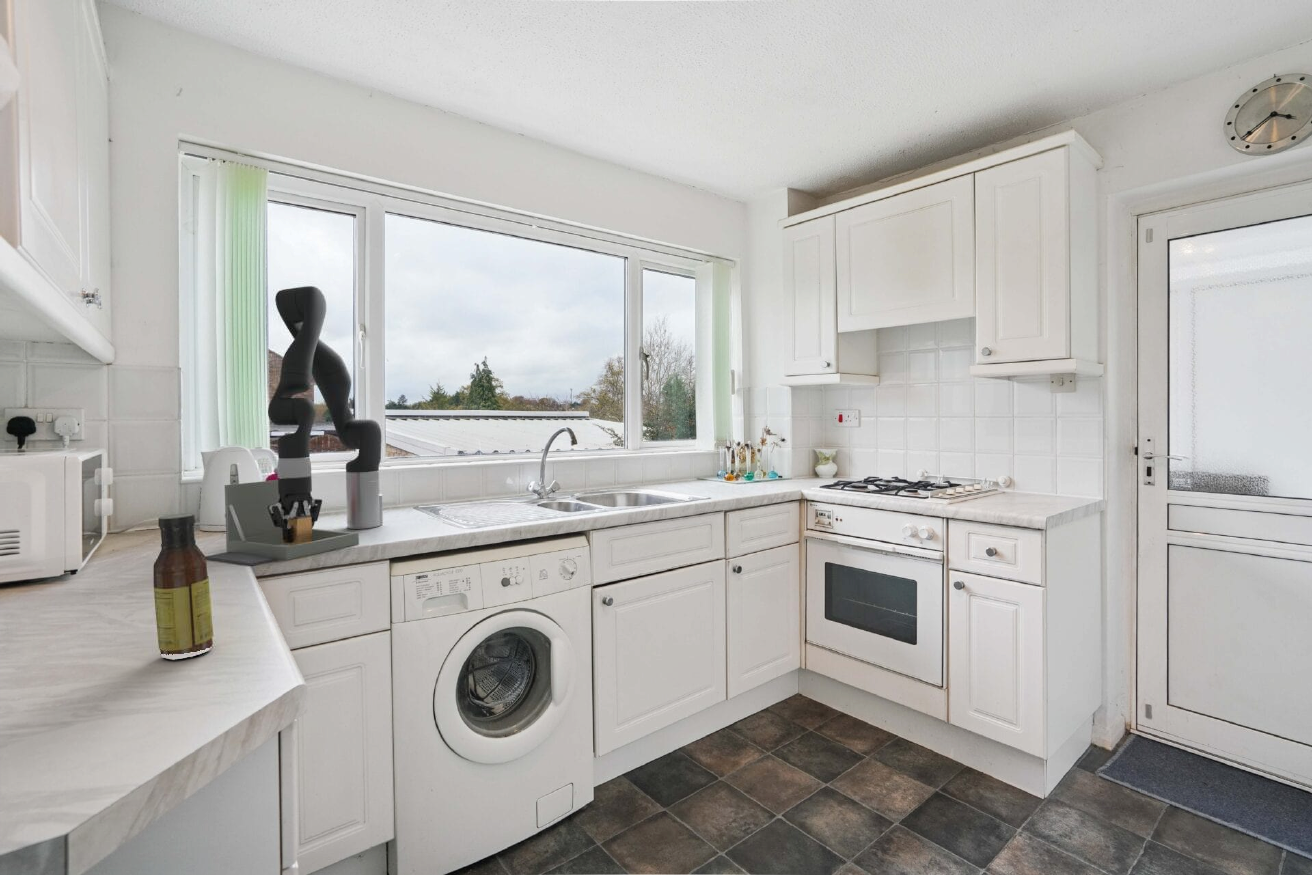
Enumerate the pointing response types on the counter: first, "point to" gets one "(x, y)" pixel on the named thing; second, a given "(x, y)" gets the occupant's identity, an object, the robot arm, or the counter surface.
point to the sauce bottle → (181, 589)
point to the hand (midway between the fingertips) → (297, 540)
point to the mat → (240, 558)
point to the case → (269, 525)
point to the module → (300, 530)
